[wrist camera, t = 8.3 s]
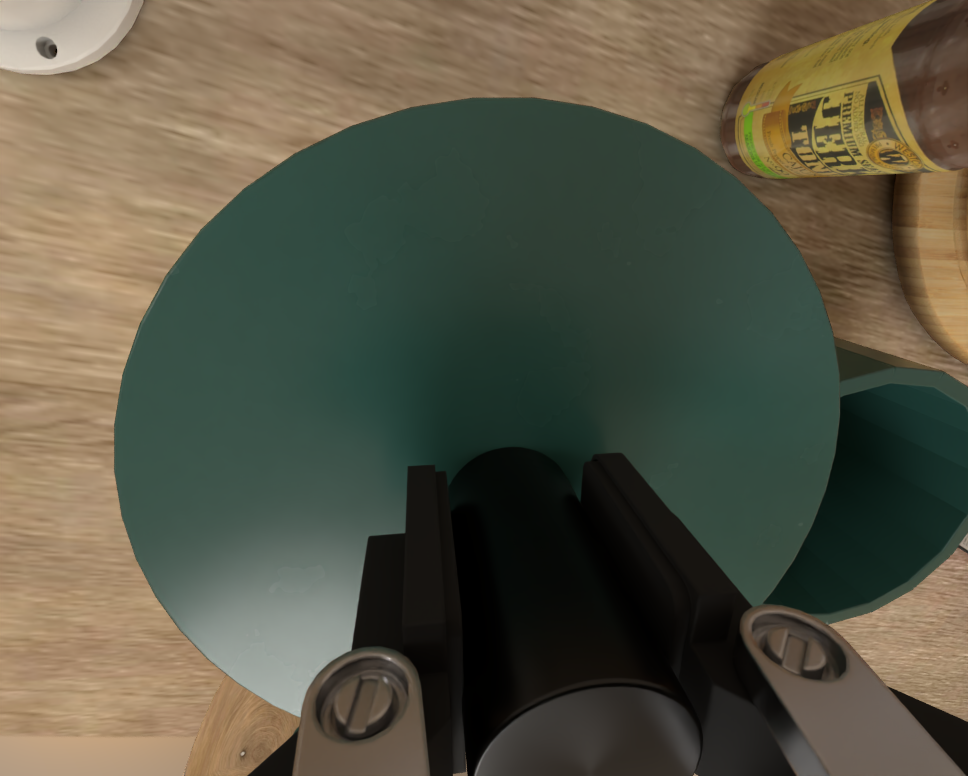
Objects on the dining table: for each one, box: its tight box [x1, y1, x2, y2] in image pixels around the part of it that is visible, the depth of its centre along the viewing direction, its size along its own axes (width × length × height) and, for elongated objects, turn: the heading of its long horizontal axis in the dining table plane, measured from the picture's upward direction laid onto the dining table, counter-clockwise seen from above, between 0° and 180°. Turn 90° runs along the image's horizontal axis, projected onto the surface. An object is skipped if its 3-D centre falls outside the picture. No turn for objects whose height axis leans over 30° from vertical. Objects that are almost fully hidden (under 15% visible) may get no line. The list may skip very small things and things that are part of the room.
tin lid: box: [114, 98, 840, 776], centre depth 9 cm, size 16×16×7 cm
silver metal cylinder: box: [183, 674, 300, 776], centre depth 30 cm, size 7×7×15 cm
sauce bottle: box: [720, 0, 968, 179], centre depth 20 cm, size 6×6×20 cm
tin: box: [762, 337, 968, 625], centre depth 30 cm, size 15×15×13 cm
